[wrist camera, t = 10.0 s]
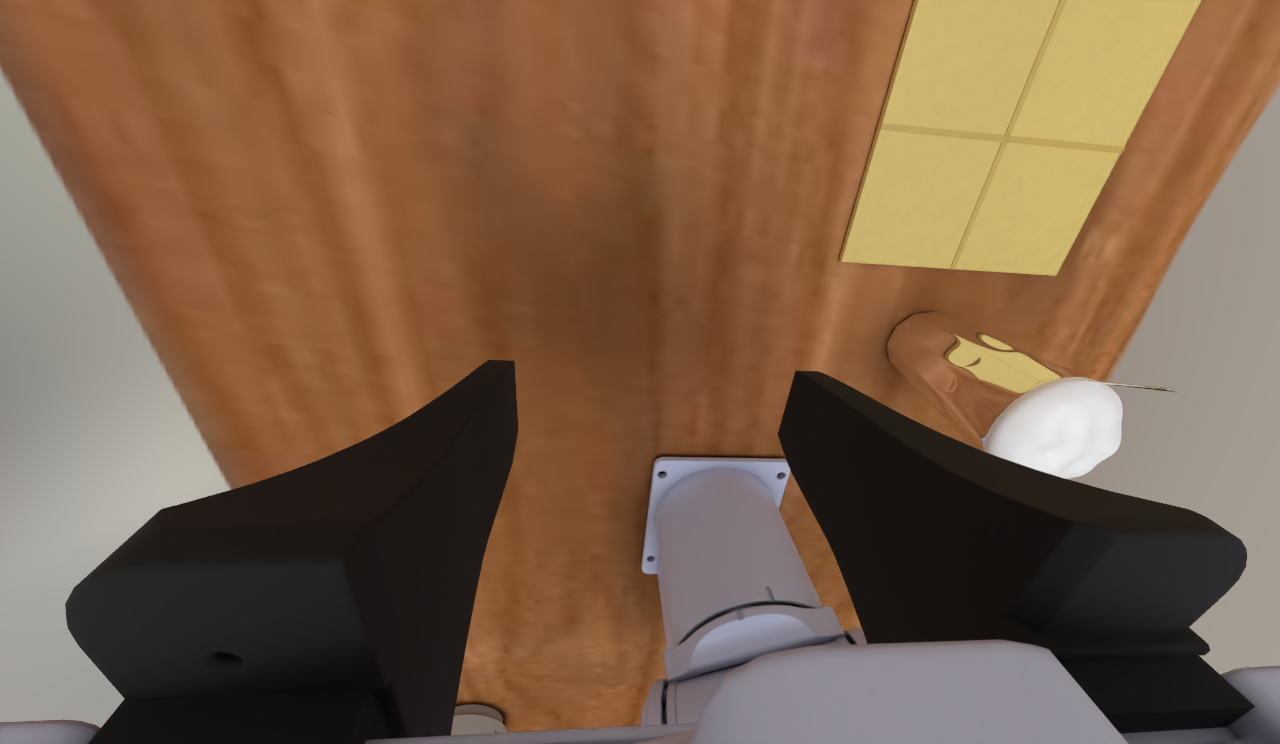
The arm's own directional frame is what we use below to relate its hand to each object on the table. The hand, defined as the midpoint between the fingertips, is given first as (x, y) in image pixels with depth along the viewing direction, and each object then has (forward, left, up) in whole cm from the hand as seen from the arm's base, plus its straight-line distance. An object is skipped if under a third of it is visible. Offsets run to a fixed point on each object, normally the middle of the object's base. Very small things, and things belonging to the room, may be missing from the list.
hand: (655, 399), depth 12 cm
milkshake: (-2, -15, -11) cm, 19 cm away
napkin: (+7, -15, -10) cm, 20 cm away
